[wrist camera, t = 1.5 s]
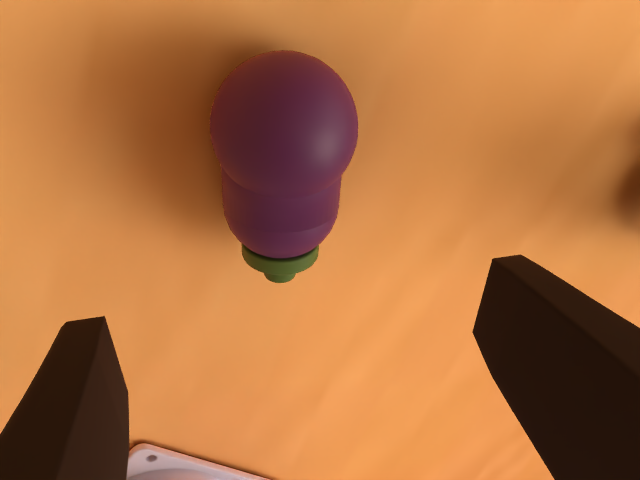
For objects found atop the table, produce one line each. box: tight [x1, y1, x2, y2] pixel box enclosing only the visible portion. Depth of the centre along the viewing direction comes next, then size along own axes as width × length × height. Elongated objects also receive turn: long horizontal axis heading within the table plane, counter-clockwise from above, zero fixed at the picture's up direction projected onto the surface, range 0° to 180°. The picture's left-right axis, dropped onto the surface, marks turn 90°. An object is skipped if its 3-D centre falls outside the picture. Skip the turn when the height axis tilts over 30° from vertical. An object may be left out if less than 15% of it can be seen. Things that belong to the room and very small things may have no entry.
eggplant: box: [210, 50, 358, 283], centre depth 18 cm, size 8×5×5 cm, turn 176°
